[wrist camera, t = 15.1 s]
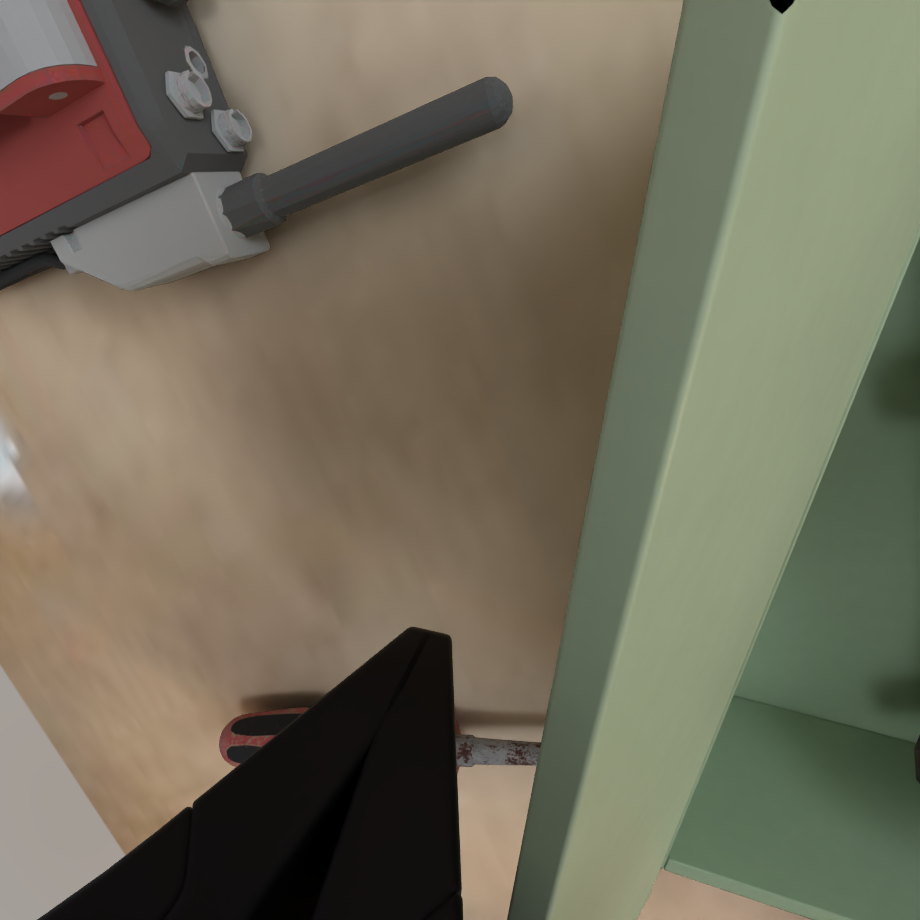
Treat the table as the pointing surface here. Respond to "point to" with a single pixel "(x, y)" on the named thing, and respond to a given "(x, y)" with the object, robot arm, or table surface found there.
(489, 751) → the screwdriver
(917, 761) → the bolt
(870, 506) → the carton
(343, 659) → the table surface
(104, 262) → the walkie-talkie
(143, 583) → the table surface
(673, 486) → the flap
